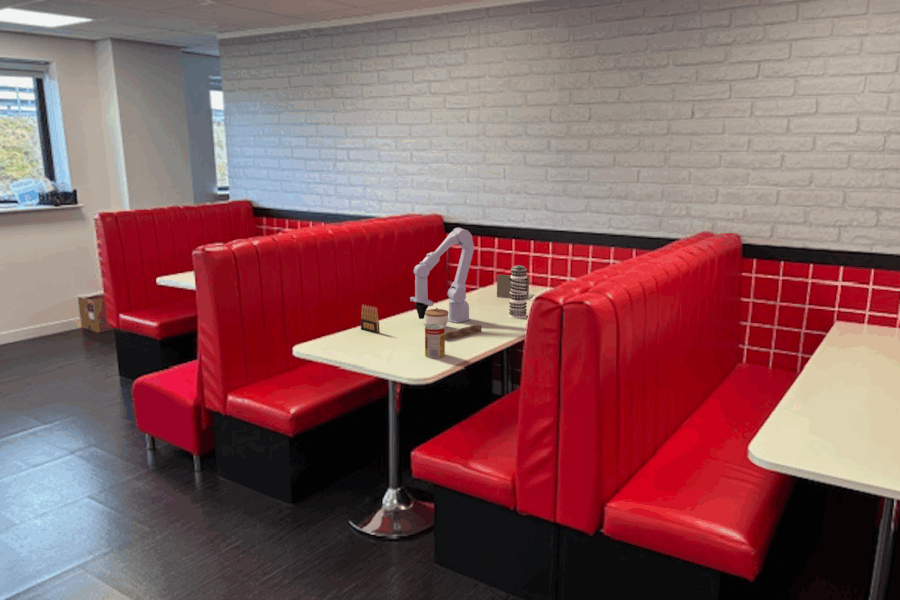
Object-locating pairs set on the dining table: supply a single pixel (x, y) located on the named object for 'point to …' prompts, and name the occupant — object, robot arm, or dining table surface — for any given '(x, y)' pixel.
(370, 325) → the ammunition clip
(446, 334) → the walnut rail
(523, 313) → the decorative candle
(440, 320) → the lidded jar
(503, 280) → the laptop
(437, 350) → the canned food
